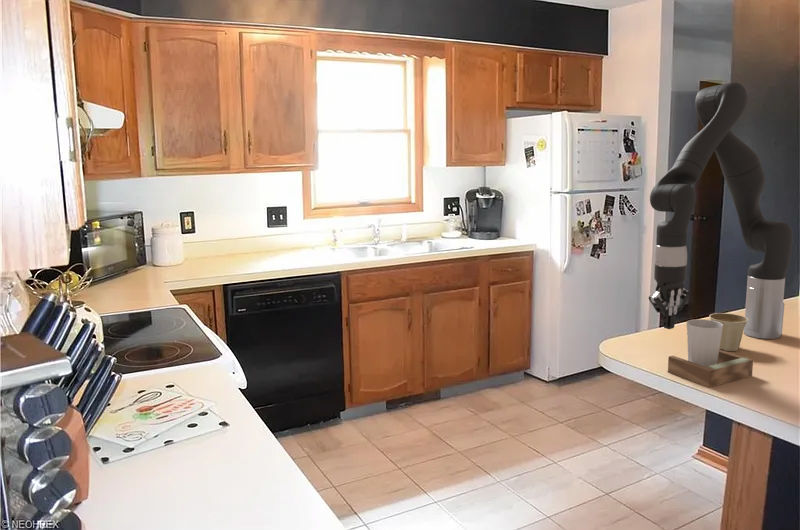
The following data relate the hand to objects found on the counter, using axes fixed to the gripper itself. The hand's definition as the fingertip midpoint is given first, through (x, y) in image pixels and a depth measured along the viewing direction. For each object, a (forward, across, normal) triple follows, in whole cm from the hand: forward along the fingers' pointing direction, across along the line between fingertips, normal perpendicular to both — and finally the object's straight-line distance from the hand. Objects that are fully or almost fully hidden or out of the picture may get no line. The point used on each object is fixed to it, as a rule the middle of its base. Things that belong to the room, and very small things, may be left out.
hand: (668, 328), depth 159 cm
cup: (+8, 0, +10) cm, 13 cm away
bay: (+8, +1, +13) cm, 15 cm away
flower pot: (+9, -20, +2) cm, 22 cm away
